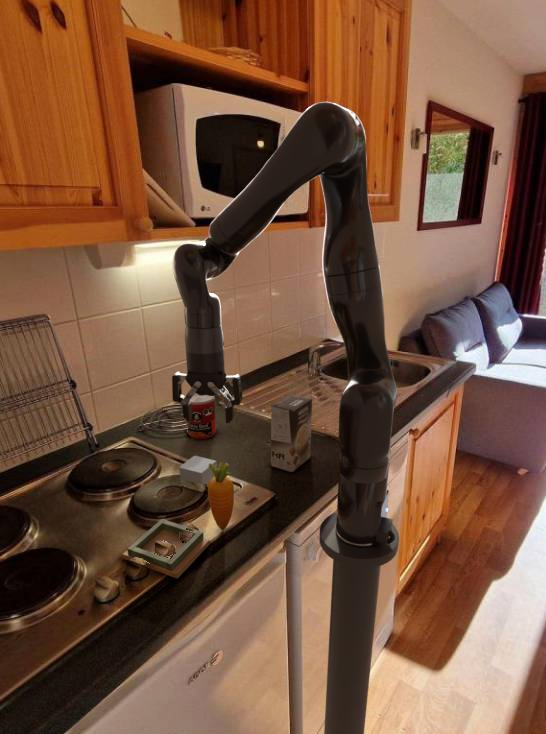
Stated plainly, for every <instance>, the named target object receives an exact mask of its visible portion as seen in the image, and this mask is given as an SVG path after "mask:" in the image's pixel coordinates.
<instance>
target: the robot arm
mask: <svg viewBox="0 0 546 734" xmlns="http://www.w3.org/2000/svg"><path fill="white" fill-rule="evenodd" d="M367 163H368V162H367V137H366V131H365V128H364V126H363V123H362V121H361V119H360V118H359V116H358V115H357V114H356V113H355V112H354V111H352V110H351V109H349V108H347V107H344V106H341V105H340V104H338V103H334V102H331V101H319V102H317V103H314V104H312V105H311V106H309V107H308V108H306V109H305V111H303V112H302V113H301V115H300V116H299V117H298V119H297V120H296V121H295V122H294V124H293V125H292V127H291V128H290V130H289V131H288V132H287V134H286V136H284V138H283V140H282V141H281V142H280V144H279V145H278V147H277V149H276V150H275V151H274V152H273V154H272V155H271V157H270V158H269V159H268V160H267V161H266V162H265V164H264V165H263V167H262V168H261V169H260V171H258V173H257V174H256V175H255V177H254V178H253V179H252V180H251V181H250V182H249V183H248V184H247V185H246V186H245V188H244V189H243V190H242V191H241V192H240V193H239V194H238V195H237V196H235V198H234V199H233V200H232V201H231V202H230V203H229V204H228V205H227V206H225V208H224V209H223V210H222V211H221V212H219V214H218V215H216V216H215V218H214V219H213V220H212V221H211V223H210V224H209V228H208V235H209V236H207V237H206V238H205V239H203V240H201V241H194V242H185V243H182V244H180V245H179V246H178V247H177V248H176V249H175V251H174V254H173V256H172V273H173V275H174V279H175V283H176V286H177V289H178V293H179V295H180V298H181V300H182V303H183V314H184V327H185V329H184V346H185V359H186V360H185V361H186V373H182V372H181V371H176V372H175V373H174V374H173V375H171V388H172V389H171V394H172V402H174V403H179V404H181V407H182V408H181V409H182V417H183V419H185V421H186V422H187V421H190V420H191V419H192V407H191V402H190V399H191V398H192V396H193V395H194V394H195V393H197V394H199V396H203V395H208V396H214V397H215V396H216V397H217V398H218V399H219V400H220V401H222V403H223V404H224V405H225V408H224V410H225V424H230V423H231V422H232V421H233V419H234V417H235V409H234V408H235V407H234V406H240V405H241V403H242V401H243V389H242V378H241V375H240V374H239V373H236V374H235V375H228V374H227V373H226V369H225V341H224V333H223V327H222V307H221V301H220V298H219V296H218V295H216V294H215V293H211V292H210V291H209V287H208V283H207V281H211V280H214V279H216V278H218V277H219V276H221V275H223V274H224V273H225V272H226V271H227V270H228V269H229V267H231V266H232V264H233V262H235V260H236V258H237V257H238V256H239V254H240V252H242V251H243V250H244V249H245V248H246V247H248V246H249V245H250V244H251V243H252V242H253V241H254V240H255V239H257V237H259V236H260V235H261V234H262V233H263V232H264V231H265V230H266V228H267V227H268V226H269V225H270V223H272V221H273V220H274V218H275V217H276V216H277V214H278V212H279V211H280V210H281V208H282V207H283V205H284V204H286V203H285V202H287V200H288V199H289V198H291V197H292V196H293V195H294V194H295V192H297V191H298V190H300V189H301V188H302V187H303V186H304V185H306V184H307V183H309V182H310V181H312V180H313V179H316V178H317V177H318V176H319V179H320V184H321V188H322V189H321V190H322V194H323V199H324V206H325V207H324V208H325V224H324V225H325V226H324V234H323V244H322V256H321V257H322V259H321V261H322V262H321V263H322V266H321V267H322V274H323V275H322V276H323V280H324V286H325V293H326V298H327V303H328V307H329V310H330V313H331V316H332V318H333V320H334V323H335V326H336V327H337V329H338V331H339V334H340V336H341V338H342V341H343V344H344V349H345V355H346V362H347V363H346V364H347V378H348V379H347V386H346V387H345V389H344V391H343V392H342V394H341V397H340V400H339V401H340V402H339V411H338V412H339V413H338V447H339V465H338V467H339V468H338V481H337V482H338V483H337V485H338V486H337V505H336V512H337V520H336V530H335V531H336V535H337V537H338V538H339V539H340V540H341V541H342V542H344V543H345V544H347V545H350V546H353V547H359V548H366V547H376V548H378V546H379V544H380V543H383V544H386V543H388V544H390V543H392V542H393V541H394V540H395V535H394V533H393V532H392V531H391V530H392V524H393V522H394V519H392V518H390V517H388V516H387V515H388V511H389V508H388V506H389V497H390V496H389V495H390V490H388V481H389V471H390V463H391V452H392V447H391V441H392V440H391V439H392V429H393V420H394V412H395V407H396V404H397V399H398V390H397V384H396V381H395V377H394V373H393V368H392V366H391V361H390V357H389V352H388V348H387V341H386V329H385V328H386V324H385V305H384V294H383V283H382V275H381V268H380V261H379V256H378V250H377V243H376V237H375V229H374V224H373V219H372V213H371V208H370V203H369V202H370V201H369V190H368V164H367ZM184 382H186V383H187V384H188V385H189V387H190V389H189V391H188V392H187V393H186V394H185V395H184V394H183V393H182V392H183V390H182V389H183V388H182V384H183V383H184ZM226 383H228V384H229V386H230V387H232V390H233V396H232V395H231V394H230V393H229V390H228V389H227V388H226V387H225V384H226ZM389 536H390V538H389Z"/></svg>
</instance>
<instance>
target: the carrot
mask: <svg viewBox="0 0 546 734" xmlns="http://www.w3.org/2000/svg"><path fill="white" fill-rule="evenodd" d="M208 465H209V467H210V468H211V470H212V472H213V474H214V476H215V477H214V478H213V479H212V480H211V481H209V482H208V485H207V487H208V489H207V497H208V503H209V507H210V510H211V514H212V517H213V519H214V522H215V523H216V525H217V527H218V529H220V530H221V531H225V529H227V527H228V525H229V523H230V521H231V518H232V515H233V510H234V505H235V504H234V503H235V502H234V501H235V487H234V486H235V485H234V483H233V481H232V479H231V478H230V477H229V475H231V472H230V471H228V469H229V467H230V465H229V463H227V462H225V463H224V462H223V461H220V462H219V465H218V467H217V469H216V471H215V468H214V466H213V465H212V464H211V463H209V464H208Z"/></svg>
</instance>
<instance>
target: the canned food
mask: <svg viewBox="0 0 546 734" xmlns="http://www.w3.org/2000/svg"><path fill="white" fill-rule="evenodd" d="M215 400H216V399H215V395H214V396H208V395H203V396H199V394H197V393H195V394H194V395H193V396H192V398H191V399H190V402H191V407H192V419H191V420H190V421H186V422H187V423H186V424H187V433H188V435H189V437H190V438H192V439H194V440H195V439H196V440H205V439H209V438H211V437H213V436H214V435H216V433H217V418H216V417H217V416H216V415H217V414H216V401H215Z"/></svg>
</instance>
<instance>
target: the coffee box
mask: <svg viewBox="0 0 546 734" xmlns="http://www.w3.org/2000/svg"><path fill="white" fill-rule="evenodd" d="M270 408H271V409H270V466H271V467H272V468H273V467H274V468H277V469H280V470H283V471H286V472H290V473H293V472H295V470H297V469H298V468H299V467H300V466H302V465H303V464H304V463H306V462H307V461H308V460H309V459H310V458H311V450H312V449H311V448H312V445H311V444H312V443H311V441H312V418H313V417H312V416H313V415H312V414H313V399H312V398H309V397H305V396H300V395H294V394H289V395H288V396H286V397H284V398H282V399H280V400H279V401H276V402H275V403H273V404H271V405H270Z"/></svg>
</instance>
